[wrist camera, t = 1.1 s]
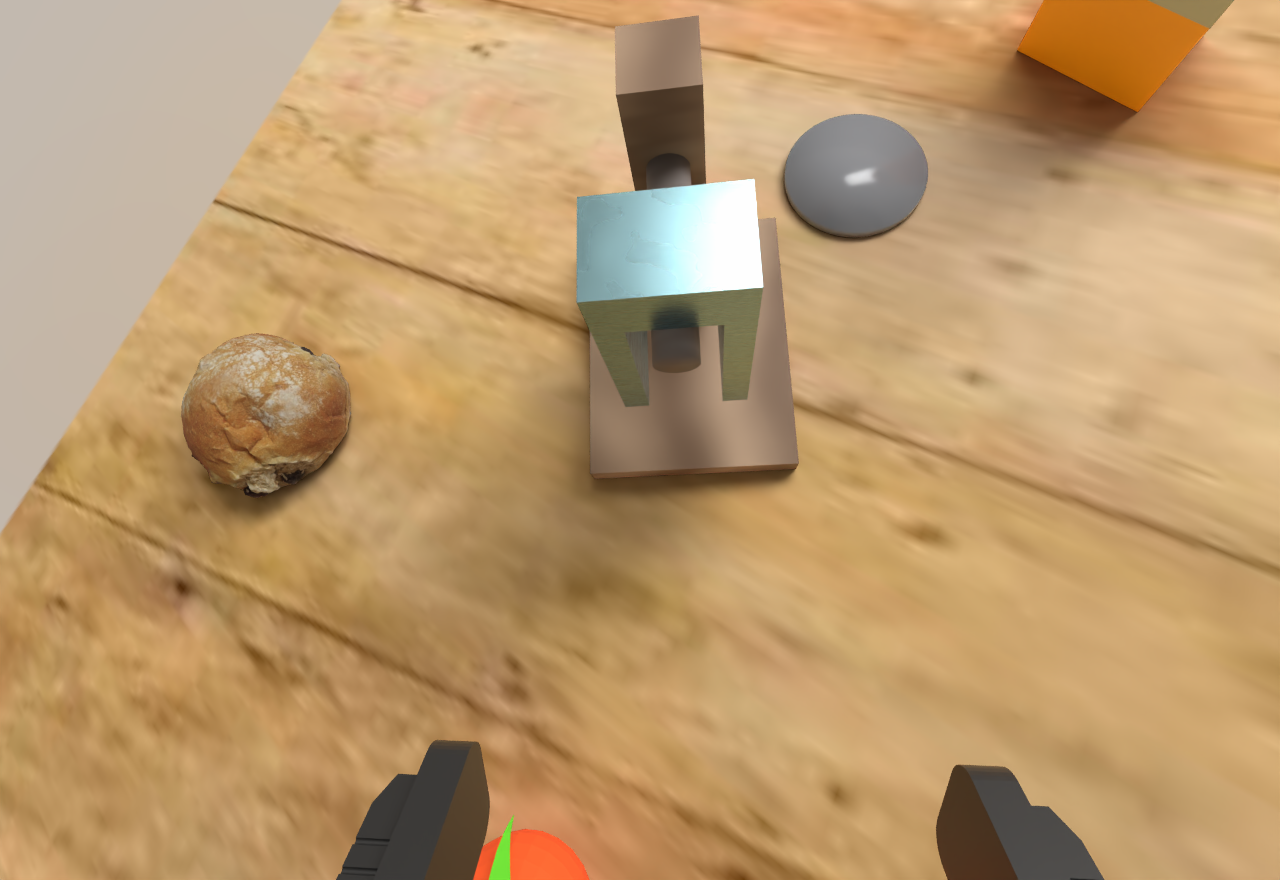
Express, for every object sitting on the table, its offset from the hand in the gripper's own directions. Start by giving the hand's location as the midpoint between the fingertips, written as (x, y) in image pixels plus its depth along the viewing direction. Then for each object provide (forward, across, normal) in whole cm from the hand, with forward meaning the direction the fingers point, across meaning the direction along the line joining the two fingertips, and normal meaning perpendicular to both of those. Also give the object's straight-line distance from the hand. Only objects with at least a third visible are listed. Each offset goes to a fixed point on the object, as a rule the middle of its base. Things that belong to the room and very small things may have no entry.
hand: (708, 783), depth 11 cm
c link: (+22, 0, 0) cm, 22 cm away
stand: (+31, 0, +2) cm, 31 cm away
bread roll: (+29, +27, +7) cm, 40 cm away
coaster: (+38, -11, -8) cm, 40 cm away
